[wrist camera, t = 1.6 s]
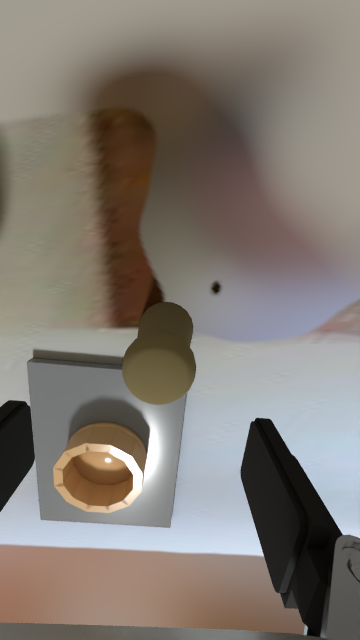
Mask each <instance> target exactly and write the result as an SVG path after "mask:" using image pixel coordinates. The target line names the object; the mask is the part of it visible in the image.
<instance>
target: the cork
mask: <svg viewBox="0 0 360 640" xmlns="http://www.w3.org/2000/svg"><path fill="white" fill-rule="evenodd" d="M192 333H193V324H192V319H191V317H190V316H189V314H188V312H187V311H186V310H185V309H183V308H182V307H181V306H179V305H177V304H175V303H171V302H161V303H157V304H154V305H153V306H151V307H149V308H148V309H147V310H146V311H145V312H144V314H143V315H142V317H141V320H140V323H139V330H138V337H137V339H135V340H134V342H133V343H132V344H131V345H130V346H129V347H128V349H127V350H126V353H125V356H124V358H123V361H122V376H123V379H124V382H125V385H126V386H127V388H128V389H129V390H130V392H131V393H132V394H133V395H134V396H135V397H137V398H138V399H139V400H141V401H143V402H146V403H149V404H154V405H163V404H168V403H172V402H173V401H175V400H177V399H179V398H181V397H182V396H183V395H184V394H185V393H186V392H187V391H188V390H189V389H190V387H191V385H192V383H193V381H194V378H195V372H196V363H195V359H194V354H193V352H192V350H191V348H190V343H191V339H192Z"/></svg>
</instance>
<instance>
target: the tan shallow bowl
mask: <svg viewBox="0 0 360 640" xmlns="http://www.w3.org/2000/svg"><path fill="white" fill-rule="evenodd" d="M146 460H147V451H146V447H145V445H144V443H143V441H142V440H141V438H140V437H139V436H138V435H137V434H136V433H135V432H134V431H133V430H131V429H130V428H128V427H126V426H124V425H121V424H118V423H114V422H108V421H101V422H94V423H90V424H87V425H85V426H83V427H81V428H80V429H78V430H77V431H76V432H75V433H74V434H73V435H72V437H71V438H70V440H69V442H68V443H67V445H66V447H65V449H64V450H63V452H62V454H61V455H60V457H59V459H58V460H57V462H56V464H55V465H54V467H53V475H54V487H55V488H56V489H57V490H58V492H59V493H60V494H61V495H62V497H63V498H64V499H65V500H66V502H68V503H70V504H72V505H74V506H76V507H78V508H80V509H82V510H84V511H86V512H100V513H111V512H114V511H116V510H119V509H122V508H125V507H128V506H130V504H131V503H132V502H133V501H134V500H135V499H136V498H137V496H138V495H139V494H140V493H141V491H142V485H143V479H144V472H145V467H146Z"/></svg>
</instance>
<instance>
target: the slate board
mask: <svg viewBox="0 0 360 640" xmlns="http://www.w3.org/2000/svg"><path fill="white" fill-rule="evenodd" d="M27 369H28V380H29V392H30V403H31V414H32V426H33V437H34V448H35V460H36V471H37V482H38V494H39V505H40V516H41V520H52V521H68V522H84V523H101V524H117V525H133V526H149V527H166V528H170V525H171V517H172V508H173V500H174V492H175V484H176V475H177V467H178V459H179V450H180V442H181V434H182V425H183V417H184V409H185V400H186V393H185V394H184V395H183V396H182V397H181V398H179V399H177V400H175V401H173V402H172V403H168V404H163V405H154V404H149V403H146V402H143V401H141V400H139V399H138V398H137V397H135V396H134V395H133V394H132V393H131V392H130V390H129V389H128V388H127V386H126V385H125V382H124V379H123V376H122V366H120V365H108V364H96V363H84V362H73V361H61V360H49V359H38V358H32V359H30V360H29V361H28V362H27ZM101 421H108V422H114V423H118V424H121V425H124V426H126V427H128V428H130V429H131V430H133V431H134V432H135V433H136V434H137V435H138V436H139V437H140V438H141V440H142V441H143V443H144V445H145V447H146V451H147V460H146V467H145V472H144V479H143V485H142V491H141V493H140V494H139V495H138V496H137V498H136V499H135V500H134V501H133V502H132V503H131V504H130V506H128V507H125V508H122V509H119V510H116V511H114V512H111V513H100V512H86V511H84V510H82V509H80V508H78V507H76V506H74V505H72V504H70V503H68V502H66V500H65V499H64V498H63V497H62V495H61V494H60V493H59V492H58V490H57V489H56V488H55V487H54V475H53V467H54V465H55V464H56V462H57V460H58V459H59V457H60V455H61V454H62V452H63V450H64V449H65V447H66V445H67V443H68V442H69V440H70V438H71V437H72V435H73V434H74V433H75V432H76V431H77V430H78V429H80V428H81V427H83V426H85V425H87V424H90V423H94V422H101Z"/></svg>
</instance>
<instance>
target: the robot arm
mask: <svg viewBox="0 0 360 640" xmlns="http://www.w3.org/2000/svg"><path fill="white" fill-rule="evenodd" d="M34 459H35V453H34V442H33V431H32V420H31V409H30V406H28V405H27V403H26V402H25V401H13V400H10V401H7V402H6V403H5V404H3V405H2V406H1V407H0V512H1V510H2V509H3V507H4V506H5V505H6V503H7V502H8V500H9V499H10V497H11V496H12V494H13V493H14V492H15V490H16V489H17V487H18V486H19V484H20V483H21V482H22V480H23V479H24V477H25V476H26V474H27V473H28V471H29V470H30V469H31V467H32V465H33V463H34ZM241 480H242V483H243V487H244V490H245V493H246V497H247V500H248V503H249V507H250V510H251V513H252V517H253V520H254V523H255V527H256V530H257V534H258V537H259V540H260V544H261V547H262V550H263V554H264V557H265V560H266V563H267V567H268V570H269V574H270V577H271V580H272V584H273V586H274V589H275V591H276V592H277V593H280V594H281V597H282V601H283V604H284V607H285V608H297V609H299V613H300V615H301V618H302V621H303V623H304V624H305V629H304V635H300V634H290V633H273V632H258V631H242V630H217V629H191V628H164V627H163V628H162V627H134V626H101V625H69V624H68V625H66V624H34V623H33V624H32V623H0V640H360V538H358V537H355V536H351V535H343V534H342V533H341V531H340V530H339V528H338V526H337V525H336V523H335V521H334V520H333V518H332V516H331V515H330V513H329V511H328V510H327V508H326V506H325V505H324V503H323V501H322V500H321V498H320V497H319V495H318V493H317V492H316V490H315V488H314V487H313V485H312V483H311V482H310V480H309V478H308V477H307V475H306V473H305V472H304V470H303V468H302V467H301V465H300V464H299V462H298V460H297V459H296V458H295V456H293V455H292V454H291V453H290V451H289V449H288V448H287V446H286V444H285V442H284V441H283V439H282V437H281V436H280V434H279V432H278V431H277V429H276V427H275V426H274V424H273V422H272V421H271V420H270V419H264V418H256V419H255V421H252V422H251V424H250V429H249V434H248V438H247V443H246V447H245V452H244V457H243V461H242V466H241Z"/></svg>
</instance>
